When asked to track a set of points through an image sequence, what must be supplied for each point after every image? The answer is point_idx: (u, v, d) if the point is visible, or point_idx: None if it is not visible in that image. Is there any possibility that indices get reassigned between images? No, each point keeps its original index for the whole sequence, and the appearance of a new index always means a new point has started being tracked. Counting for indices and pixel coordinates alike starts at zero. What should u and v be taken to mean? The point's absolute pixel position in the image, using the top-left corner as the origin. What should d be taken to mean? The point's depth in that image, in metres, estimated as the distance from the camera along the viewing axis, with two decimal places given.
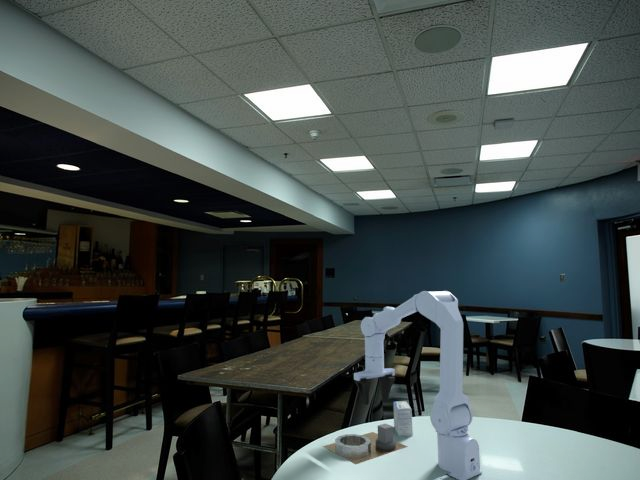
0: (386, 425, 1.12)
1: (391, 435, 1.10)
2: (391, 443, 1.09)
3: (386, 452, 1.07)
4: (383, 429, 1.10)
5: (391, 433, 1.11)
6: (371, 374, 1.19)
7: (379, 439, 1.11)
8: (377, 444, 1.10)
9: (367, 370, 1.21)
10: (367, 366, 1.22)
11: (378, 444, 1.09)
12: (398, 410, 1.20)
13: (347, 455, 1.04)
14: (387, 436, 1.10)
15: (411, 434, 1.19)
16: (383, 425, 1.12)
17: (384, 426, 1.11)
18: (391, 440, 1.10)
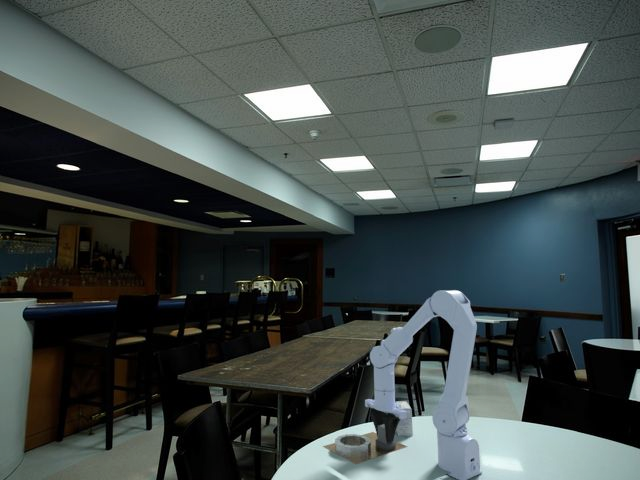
0: None
1: None
2: (391, 443, 1.09)
3: (386, 452, 1.07)
4: (383, 429, 1.10)
5: None
6: (371, 405, 1.13)
7: (379, 439, 1.11)
8: (377, 444, 1.10)
9: None
10: None
11: (378, 444, 1.09)
12: None
13: (347, 455, 1.04)
14: None
15: (411, 434, 1.19)
16: (383, 425, 1.12)
17: (384, 426, 1.11)
18: None
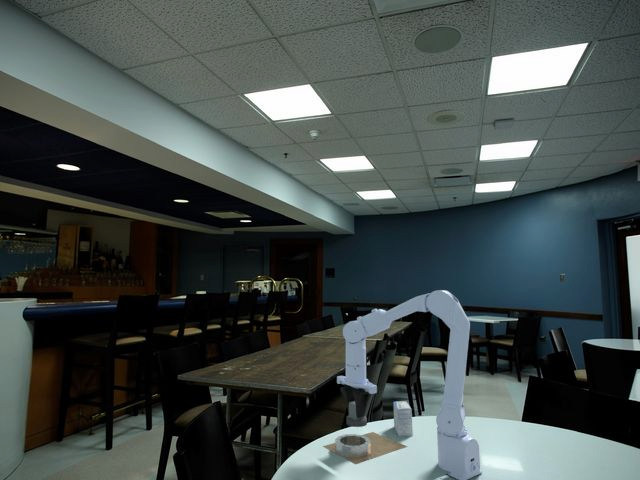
0: None
1: None
2: (362, 419, 1.08)
3: (386, 452, 1.07)
4: (354, 405, 1.09)
5: None
6: (343, 381, 1.12)
7: (350, 416, 1.10)
8: (348, 421, 1.08)
9: None
10: None
11: (349, 420, 1.08)
12: (398, 410, 1.20)
13: (347, 455, 1.04)
14: None
15: (411, 434, 1.19)
16: (354, 402, 1.11)
17: None
18: (362, 417, 1.09)
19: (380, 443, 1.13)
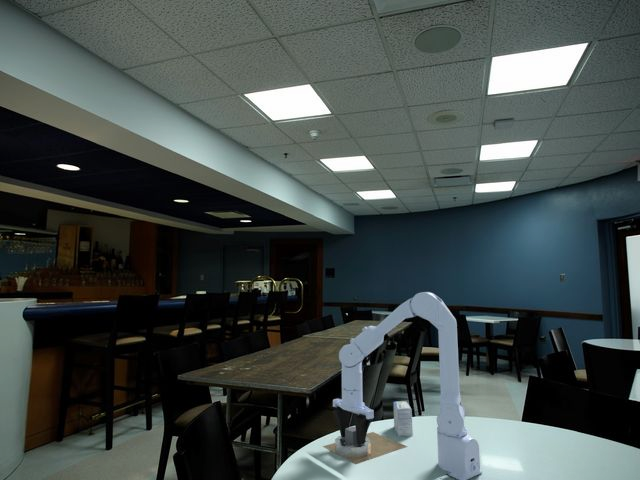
0: (354, 428, 1.10)
1: None
2: None
3: (386, 452, 1.07)
4: (350, 432, 1.08)
5: None
6: (339, 404, 1.11)
7: (346, 442, 1.08)
8: None
9: None
10: None
11: None
12: (398, 410, 1.20)
13: (347, 455, 1.04)
14: (354, 439, 1.07)
15: (411, 434, 1.19)
16: (351, 428, 1.10)
17: (352, 429, 1.09)
18: None
19: (380, 443, 1.13)
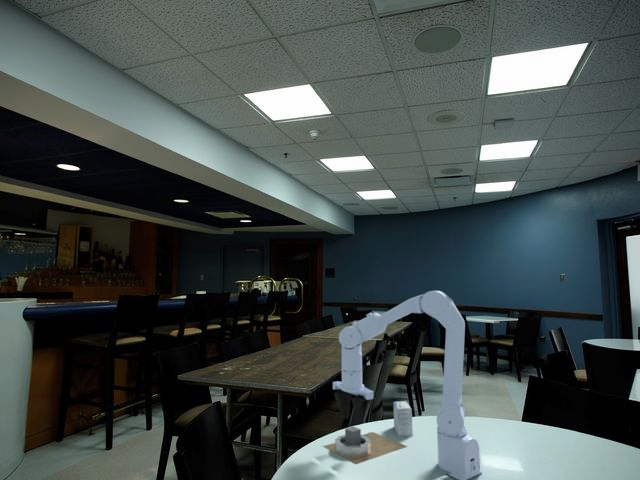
0: (354, 428, 1.10)
1: (359, 438, 1.08)
2: None
3: (386, 452, 1.07)
4: (350, 432, 1.08)
5: (359, 436, 1.08)
6: (339, 386, 1.11)
7: (346, 442, 1.08)
8: None
9: None
10: None
11: None
12: (398, 410, 1.20)
13: (347, 455, 1.04)
14: (354, 439, 1.07)
15: (411, 434, 1.19)
16: (351, 428, 1.10)
17: (352, 429, 1.09)
18: (359, 443, 1.08)
19: (380, 443, 1.13)
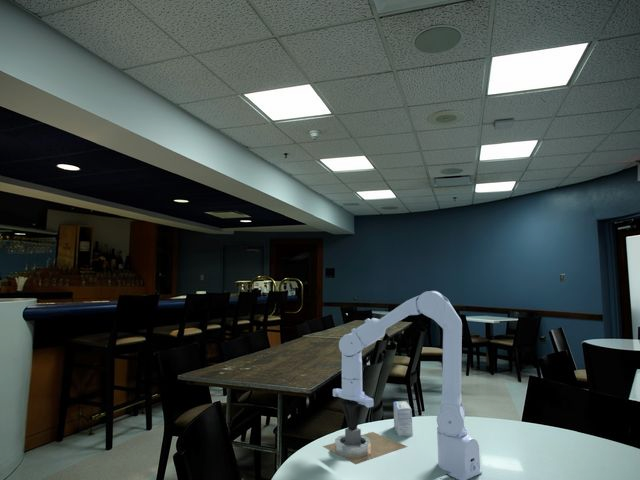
0: None
1: (359, 438, 1.08)
2: None
3: (386, 452, 1.07)
4: (350, 432, 1.08)
5: (359, 436, 1.08)
6: (339, 394, 1.11)
7: (346, 442, 1.08)
8: None
9: None
10: None
11: None
12: (398, 410, 1.20)
13: (347, 455, 1.04)
14: (354, 439, 1.07)
15: (411, 434, 1.19)
16: None
17: None
18: (359, 443, 1.08)
19: (380, 443, 1.13)
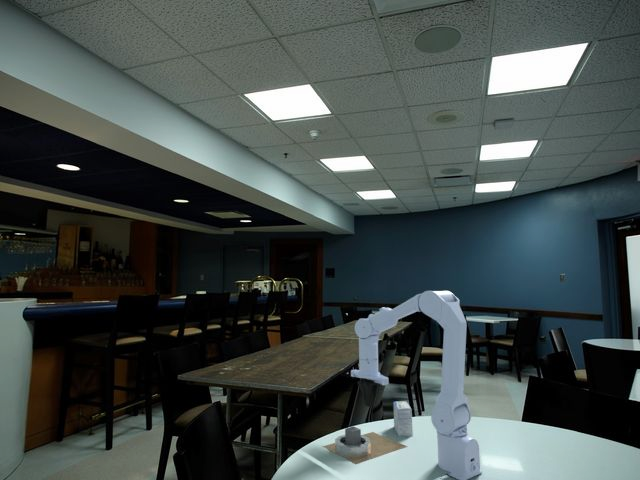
0: (354, 428, 1.10)
1: (359, 438, 1.08)
2: None
3: (386, 452, 1.07)
4: (350, 432, 1.08)
5: (359, 436, 1.08)
6: (356, 374, 1.21)
7: (346, 442, 1.08)
8: None
9: None
10: None
11: None
12: (398, 410, 1.20)
13: (347, 455, 1.04)
14: (354, 439, 1.07)
15: (411, 434, 1.19)
16: (351, 428, 1.10)
17: (352, 429, 1.09)
18: (359, 443, 1.08)
19: (380, 443, 1.13)
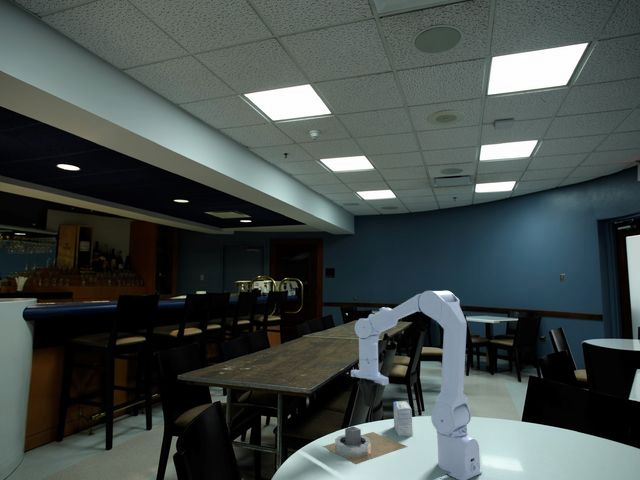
0: (354, 428, 1.10)
1: (359, 438, 1.08)
2: None
3: (386, 452, 1.07)
4: (350, 432, 1.08)
5: (359, 436, 1.08)
6: (356, 374, 1.21)
7: (346, 442, 1.08)
8: None
9: None
10: None
11: None
12: (398, 410, 1.20)
13: (347, 455, 1.04)
14: (354, 439, 1.07)
15: (411, 434, 1.19)
16: (351, 428, 1.10)
17: (352, 429, 1.09)
18: (359, 443, 1.08)
19: (380, 443, 1.13)
